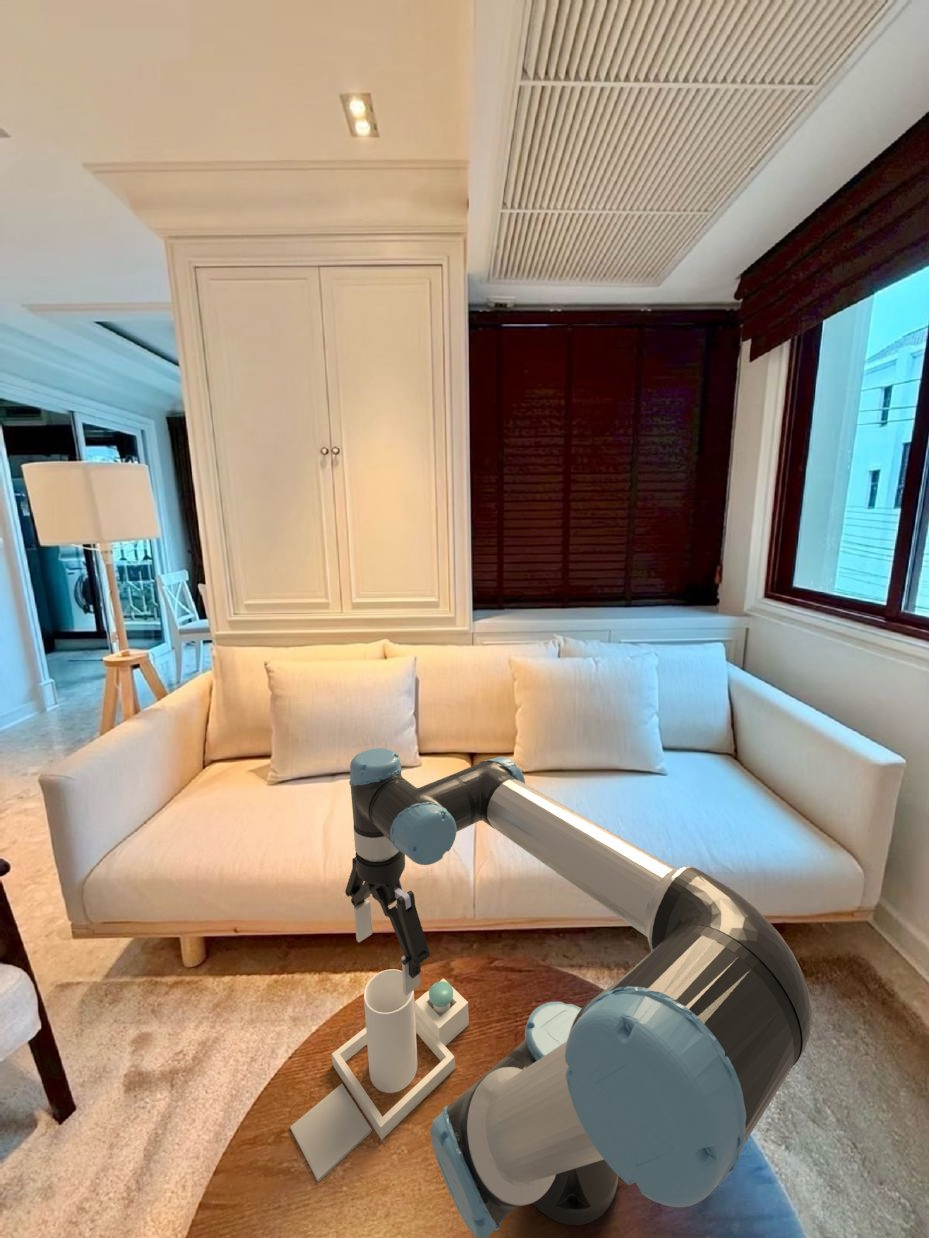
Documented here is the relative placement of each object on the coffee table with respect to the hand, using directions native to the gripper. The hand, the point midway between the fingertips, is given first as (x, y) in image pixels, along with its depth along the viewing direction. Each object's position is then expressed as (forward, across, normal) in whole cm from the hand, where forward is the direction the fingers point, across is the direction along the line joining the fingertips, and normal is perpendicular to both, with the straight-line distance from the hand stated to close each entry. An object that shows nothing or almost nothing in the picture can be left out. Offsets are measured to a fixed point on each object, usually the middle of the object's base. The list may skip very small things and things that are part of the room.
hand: (386, 961), depth 85 cm
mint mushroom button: (+19, 0, -11) cm, 22 cm away
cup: (+22, 0, 0) cm, 22 cm away
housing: (+21, 0, -3) cm, 22 cm away
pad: (+22, -1, +13) cm, 25 cm away
